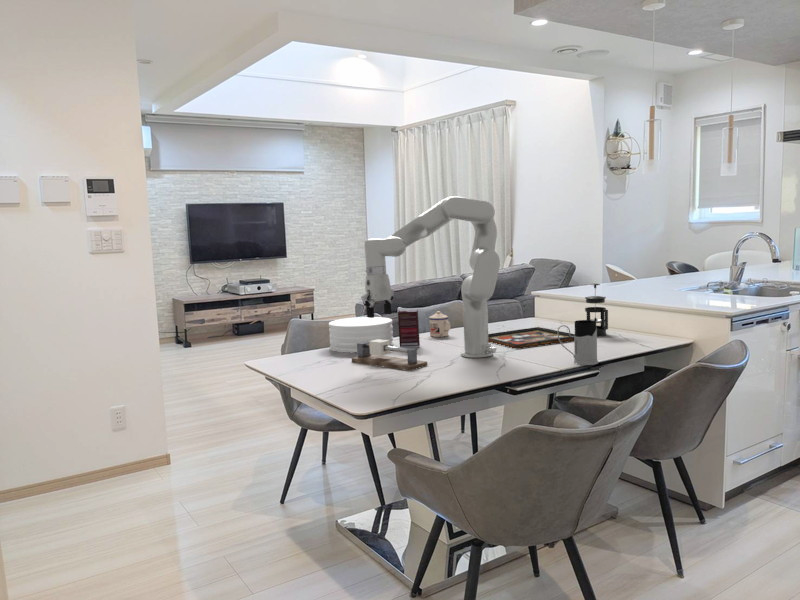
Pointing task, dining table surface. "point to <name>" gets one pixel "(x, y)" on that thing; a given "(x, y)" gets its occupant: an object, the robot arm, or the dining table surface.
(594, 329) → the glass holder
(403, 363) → the base board
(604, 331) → the french press
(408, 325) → the supplement box
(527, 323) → the dining table surface
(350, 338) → the plate stack
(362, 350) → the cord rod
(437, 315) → the teacup with lid
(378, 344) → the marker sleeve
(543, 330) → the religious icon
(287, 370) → the dining table surface
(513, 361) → the dining table surface
